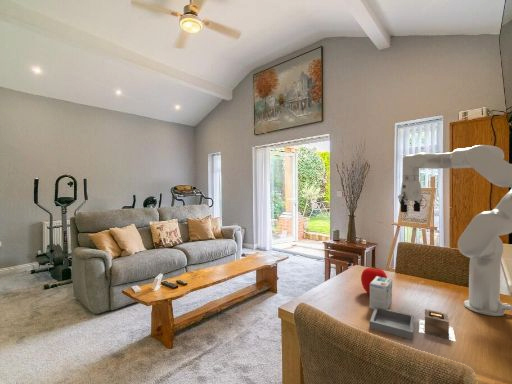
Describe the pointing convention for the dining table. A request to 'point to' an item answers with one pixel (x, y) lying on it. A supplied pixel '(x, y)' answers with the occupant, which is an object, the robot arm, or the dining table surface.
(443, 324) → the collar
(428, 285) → the dining table surface
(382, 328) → the tray
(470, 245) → the robot arm
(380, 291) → the light bulb box
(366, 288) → the red rounded piece
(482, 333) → the dining table surface
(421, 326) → the white piece
